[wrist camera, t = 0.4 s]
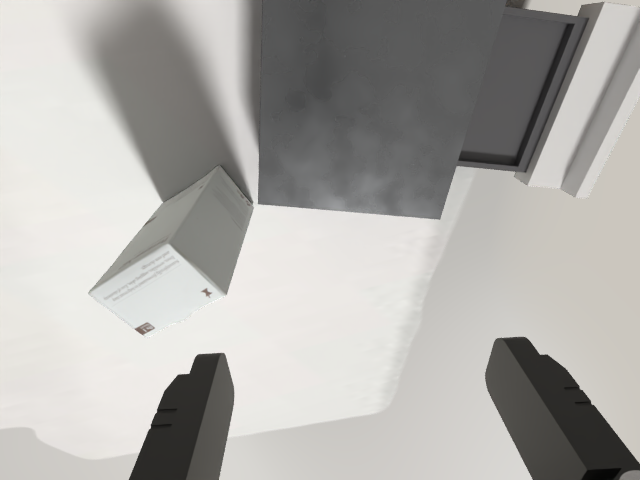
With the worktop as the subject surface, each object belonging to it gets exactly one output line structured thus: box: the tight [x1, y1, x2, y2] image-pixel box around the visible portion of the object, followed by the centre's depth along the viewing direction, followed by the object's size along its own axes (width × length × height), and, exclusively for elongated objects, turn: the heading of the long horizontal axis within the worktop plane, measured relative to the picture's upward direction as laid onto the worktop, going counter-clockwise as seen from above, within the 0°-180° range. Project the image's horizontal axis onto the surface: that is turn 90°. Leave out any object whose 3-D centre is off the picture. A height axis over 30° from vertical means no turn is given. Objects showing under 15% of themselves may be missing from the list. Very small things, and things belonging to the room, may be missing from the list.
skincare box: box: [88, 166, 254, 338], centre depth 31 cm, size 8×6×15 cm
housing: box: [258, 0, 507, 219], centre depth 28 cm, size 20×16×7 cm
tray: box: [457, 2, 640, 199], centre depth 30 cm, size 15×18×5 cm
